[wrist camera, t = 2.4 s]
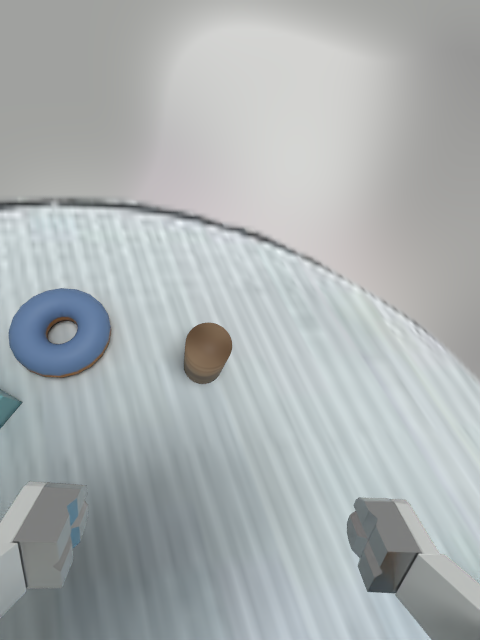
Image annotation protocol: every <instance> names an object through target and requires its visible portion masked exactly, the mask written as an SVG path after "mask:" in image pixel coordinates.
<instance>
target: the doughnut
mask: <svg viewBox="0 0 480 640" xmlns="http://www.w3.org/2000/svg"><path fill="white" fill-rule="evenodd" d="M63 320H71V321H73V322H75V323H76V324H77V325H78V329H77V333H76V335H75V336H74V337H73V338H72V339H71V340H70V341H68V342H66V343H63V344H52V343H51V342H49V341H48V338H47V335H48V331H49V329H50V328H51V327H52V326H53V325H54V324H55V323H57V322H59V321H63ZM110 334H111V327H110V322H109V317H108V314H107V312H106V310H105V309H104V307H103V306H102V304H101V303H100V302H99V301H97V300H96V299H95V298H94V297H92V296H91V295H90V294H87V293H85V292H82V291H79V290H75V289H63V288H60V289H55V290H49V291H45V292H43V293H41V294H38V295H36V296H34V297H32V298H31V299H30V300H28V301H27V302H26V303H25V304H23V305H22V306H21V307H20V309H19V310H18V312H17V313H16V314H15V316H14V317H13V320H12V323H11V326H10V329H9V344H10V348H11V350H12V352H13V354H14V356H15V358H16V359H17V360H18V361H19V362H20V363H21V364H22V365H23V366H24V367H26V368H27V369H28V370H29V371H31V372H33V373H36V374H39V375H41V376H44V377H60V378H63V377H67V376H71V375H75V374H78V373H80V372H82V371H84V370H86V369H87V368H89V367H91V366H92V365H93V364H94V363H95V362H96V361H97V360H98V359H99V358H100V357H101V356H102V355H103V353H104V351H105V350H106V348H107V346H108V344H109V339H110Z"/></svg>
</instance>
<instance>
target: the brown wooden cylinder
mask: <svg viewBox="0 0 480 640" xmlns="http://www.w3.org/2000/svg"><path fill="white" fill-rule="evenodd" d="M231 350H232V341H231V337H230V335H229V334H228V332H227V331H226V330H225V329H224V328H223V327H221V326H220V325H217V324H214V323H202V324H199V325H197V326H195V327H194V328H193V329H192V330H191V331H190V332H189V334H188V335H187V338H186V343H185V356H184V370H185V373H186V375H187V376H188V377H189V378H190V379H191V380H192V381H194V382H196V383H199V384H206V383H210V382H212V381H214V380H215V379H216V378H217V377H218V376H219V374H220V372H221V370H222V369H223V367H224V365H225V363H226V361H227V359H228V358H229V356H230V354H231Z"/></svg>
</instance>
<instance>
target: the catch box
mask: <svg viewBox="0 0 480 640" xmlns="http://www.w3.org/2000/svg"><path fill="white" fill-rule="evenodd" d="M21 403H22V402H21V401H19V400H17V399H16V398H14V397H12V396H11V395H9V394H7V393H6V392H4V391H2V390H1V389H0V428H1V427H2V426H3V425H4V424H5V422H6V421H7V420H8V419H9V418H10V416H11V415H12V414H13V413H14V412H15V411H16V409H17V408H18V407H19V406H20V405H21Z"/></svg>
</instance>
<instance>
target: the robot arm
mask: <svg viewBox="0 0 480 640" xmlns="http://www.w3.org/2000/svg"><path fill="white" fill-rule="evenodd" d="M86 496H87V485H76V484H63V483H50V482H33V481H29V482H28V483H27V484H26V485H25V486H24V487H23V488H22V489H21V491H20V492H19V494H18V495H17V497H16V499H15V500H14V502H13V503H12V505H11V506H10V508H9V509H8V511H7V512H6V514H5V516H4V517H3V519H2V520H1V522H0V619H1V618H2V617H3V615H4V614H5V613H6V612H7V611H8V610H9V609H10V608H11V607H12V606H13V605H14V604H15V603H16V602H17V601H18V600H19V599H20V598H21V597H22V596H23V594H24V593H25V592H26V591H27V590H26V589H41V588H63V585H64V582H65V580H66V577H67V575H68V572H69V570H70V567H71V565H72V562H73V548H74V547H75V546H76V545H78V544H79V543H80V541H81V539H82V536H83V533H84V530H85V526H86V522H87V518H88V504H87V503H86V502H85V498H86ZM354 508H355V510H356V511H355V512H353V513H352V514H351V515H350V516H349V518H348V521H347V535H348V540H349V543H350V546H351V549H352V550H353V551H354V553H355V554H356V555H357V556H358V557H359V563H358V568H359V571H360V574H361V576H362V579H363V582H364V584H365V587H366V590H367V592H381V593H396V594H395V595H396V597H397V598H398V599H399V600H400V602H401V603H402V604H403V605H404V606H405V608H406V609H407V610H408V611H409V613H410V614H411V615H412V616H413V617H414V619H415V620H416V621H417V622H418V623H419V625H420V626H421V627H422V628H423V630H424V631H425V632H426V633H427V634H428V636H429V637H430V638H431V639H432V640H480V584H479V583H478V582H477V581H476V580H474V579H473V578H472V577H471V576H470V575H469V574H467V573H466V572H465V571H464V570H463V569H461V568H460V567H459V566H458V565H457V564H456V563H454V562H453V561H452V560H451V559H450V558H448V557H447V556H446V555H445V554H440V553H439V551H438V550H437V548H436V546H435V545H434V543H433V541H432V540H431V538H430V537H429V535H428V533H427V532H426V530H425V528H424V527H423V525H422V523H421V522H420V520H419V518H418V517H417V515H416V513H415V512H414V510H413V508H412V507H411V505H410V504H409V502H407V501H406V500H403V499H388V498H360V497H359V498H358V499H356V501H355V503H354Z"/></svg>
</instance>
